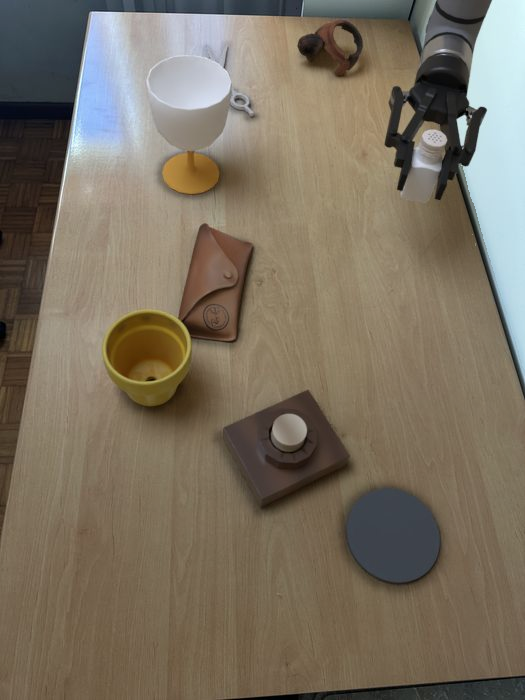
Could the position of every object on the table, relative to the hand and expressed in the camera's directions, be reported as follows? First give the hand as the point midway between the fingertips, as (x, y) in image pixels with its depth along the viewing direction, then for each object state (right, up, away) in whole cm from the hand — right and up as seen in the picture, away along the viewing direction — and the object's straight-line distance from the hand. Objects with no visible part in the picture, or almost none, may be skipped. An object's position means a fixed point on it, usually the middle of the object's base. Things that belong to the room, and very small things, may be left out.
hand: (421, 187), depth 84 cm
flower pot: (-34, -25, +2) cm, 42 cm away
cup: (-31, +7, +22) cm, 39 cm away
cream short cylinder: (-17, -31, -6) cm, 36 cm away
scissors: (-28, +28, +34) cm, 52 cm away
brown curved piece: (-8, +33, +39) cm, 52 cm away
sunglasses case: (-27, -12, +11) cm, 31 cm away
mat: (-5, -42, -6) cm, 43 cm away
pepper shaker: (+1, +1, +8) cm, 8 cm away
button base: (-17, -33, -2) cm, 37 cm away
